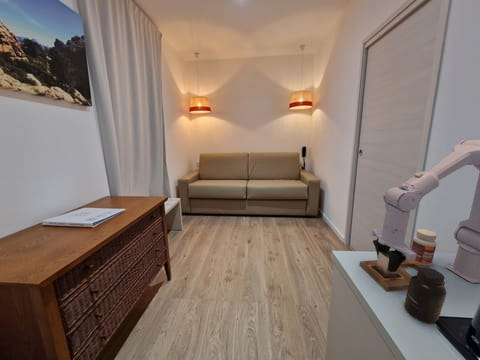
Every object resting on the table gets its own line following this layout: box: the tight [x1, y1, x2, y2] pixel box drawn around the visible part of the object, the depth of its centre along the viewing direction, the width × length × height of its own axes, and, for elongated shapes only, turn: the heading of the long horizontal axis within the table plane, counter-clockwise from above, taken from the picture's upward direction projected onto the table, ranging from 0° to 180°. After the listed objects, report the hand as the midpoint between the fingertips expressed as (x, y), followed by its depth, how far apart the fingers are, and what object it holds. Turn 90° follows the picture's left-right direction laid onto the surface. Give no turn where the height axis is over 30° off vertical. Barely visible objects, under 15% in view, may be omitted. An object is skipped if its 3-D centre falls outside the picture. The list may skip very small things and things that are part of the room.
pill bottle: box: [410, 228, 438, 267], centre depth 74 cm, size 6×6×11 cm
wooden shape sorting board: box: [359, 259, 446, 292], centre depth 68 cm, size 19×12×2 cm, turn 97°
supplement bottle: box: [403, 266, 447, 324], centre depth 53 cm, size 7×7×12 cm
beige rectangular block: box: [375, 251, 399, 279], centre depth 67 cm, size 4×4×7 cm
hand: (386, 266), depth 67 cm, fingers closed on beige rectangular block, 4 cm apart
